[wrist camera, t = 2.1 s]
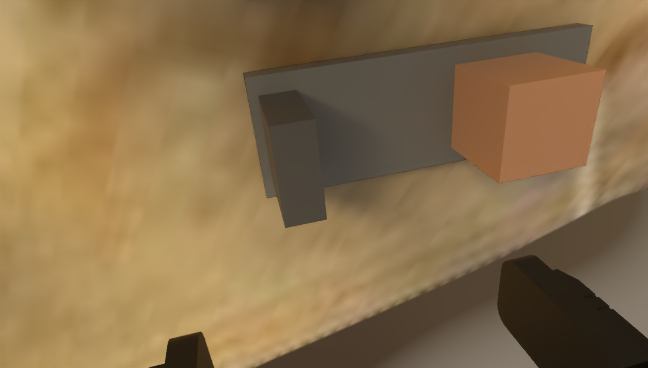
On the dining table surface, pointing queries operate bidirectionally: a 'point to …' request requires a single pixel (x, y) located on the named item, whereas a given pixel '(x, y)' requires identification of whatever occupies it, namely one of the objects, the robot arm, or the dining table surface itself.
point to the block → (525, 114)
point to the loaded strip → (372, 113)
